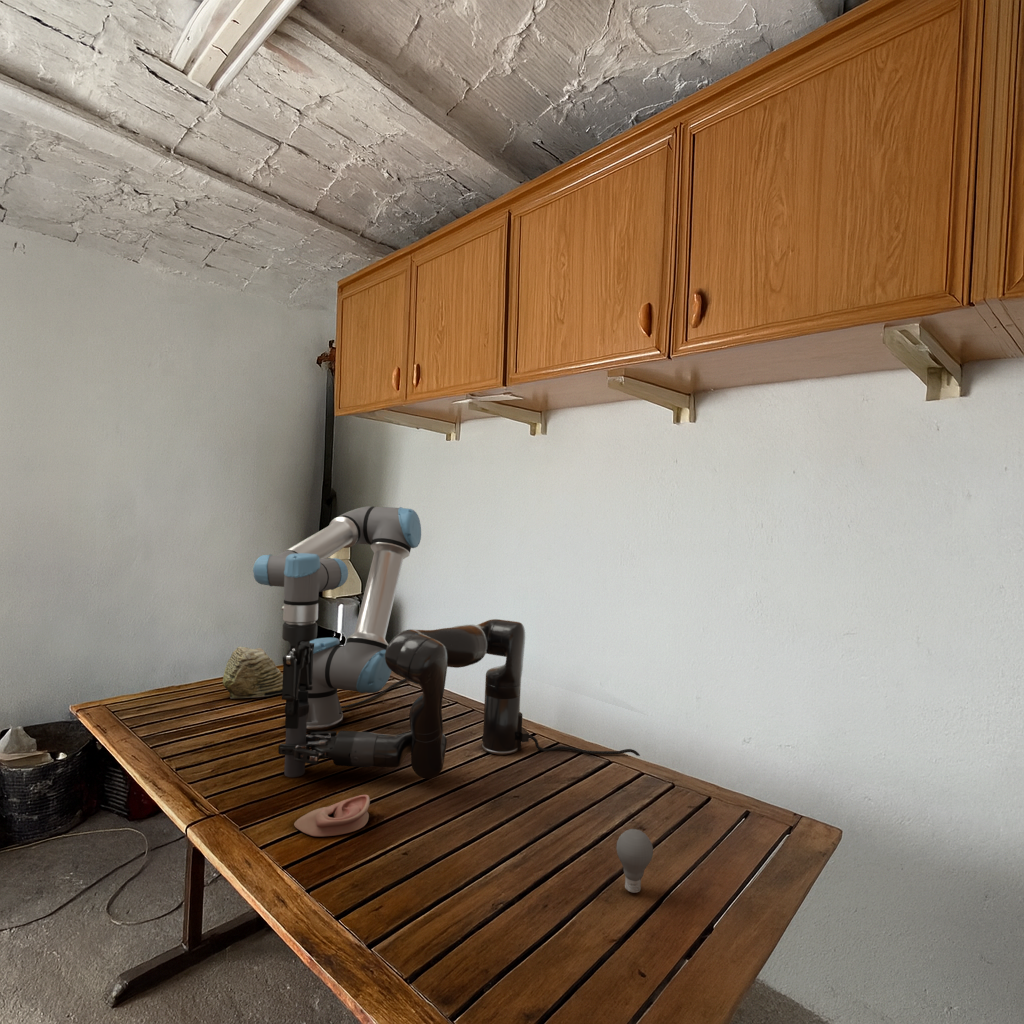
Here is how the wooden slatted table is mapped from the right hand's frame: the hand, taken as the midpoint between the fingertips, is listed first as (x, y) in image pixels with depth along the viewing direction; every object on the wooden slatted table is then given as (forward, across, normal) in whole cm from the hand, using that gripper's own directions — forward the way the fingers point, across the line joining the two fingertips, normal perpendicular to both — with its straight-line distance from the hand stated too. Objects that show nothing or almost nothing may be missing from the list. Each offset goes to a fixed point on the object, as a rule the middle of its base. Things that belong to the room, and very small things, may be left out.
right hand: (284, 744), depth 144 cm
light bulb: (-74, +36, +6) cm, 83 cm away
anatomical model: (-18, +21, +6) cm, 28 cm away
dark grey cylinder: (-3, 0, +6) cm, 7 cm away
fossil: (+30, -52, +6) cm, 61 cm away
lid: (-3, 0, -9) cm, 10 cm away
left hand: (-3, 0, -5) cm, 6 cm away
